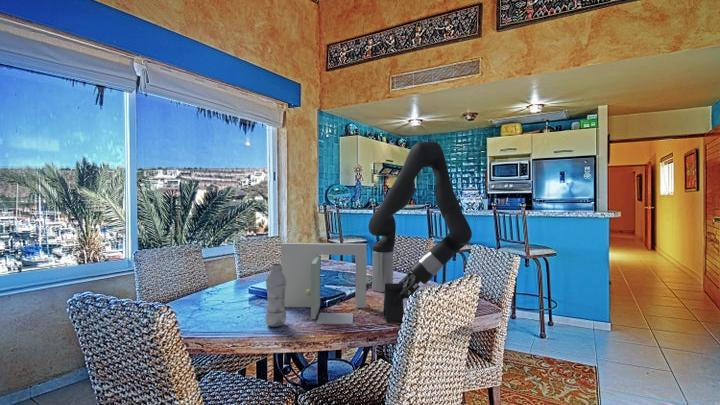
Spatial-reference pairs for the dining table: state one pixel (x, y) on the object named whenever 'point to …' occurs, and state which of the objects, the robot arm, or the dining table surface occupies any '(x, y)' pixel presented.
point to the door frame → (319, 277)
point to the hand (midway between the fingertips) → (393, 299)
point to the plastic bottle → (276, 296)
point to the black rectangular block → (390, 309)
